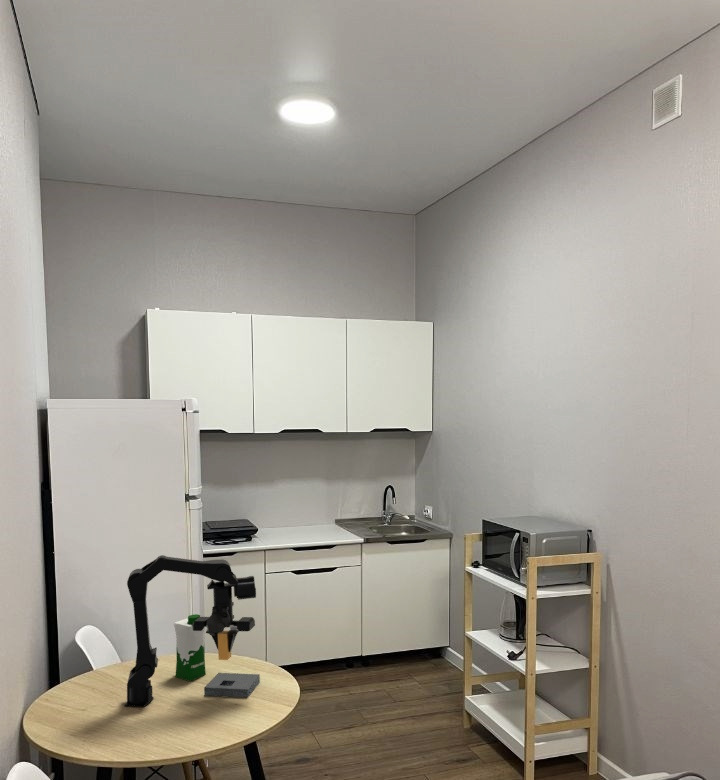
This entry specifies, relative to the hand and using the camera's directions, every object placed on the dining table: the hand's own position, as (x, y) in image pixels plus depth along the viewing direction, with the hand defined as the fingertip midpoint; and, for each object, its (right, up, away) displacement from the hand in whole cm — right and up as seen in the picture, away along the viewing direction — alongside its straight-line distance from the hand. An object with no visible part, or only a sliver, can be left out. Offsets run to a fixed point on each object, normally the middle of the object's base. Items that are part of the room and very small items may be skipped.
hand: (224, 651), depth 210 cm
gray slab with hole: (+2, -13, +2) cm, 13 cm away
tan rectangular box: (0, -2, 0) cm, 2 cm away
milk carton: (-14, -14, +14) cm, 24 cm away
